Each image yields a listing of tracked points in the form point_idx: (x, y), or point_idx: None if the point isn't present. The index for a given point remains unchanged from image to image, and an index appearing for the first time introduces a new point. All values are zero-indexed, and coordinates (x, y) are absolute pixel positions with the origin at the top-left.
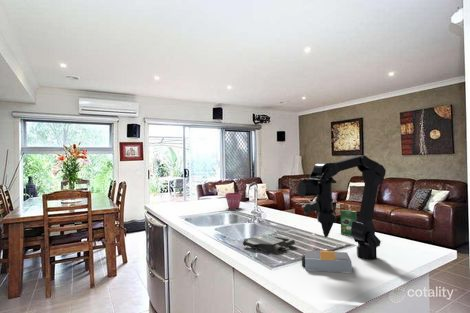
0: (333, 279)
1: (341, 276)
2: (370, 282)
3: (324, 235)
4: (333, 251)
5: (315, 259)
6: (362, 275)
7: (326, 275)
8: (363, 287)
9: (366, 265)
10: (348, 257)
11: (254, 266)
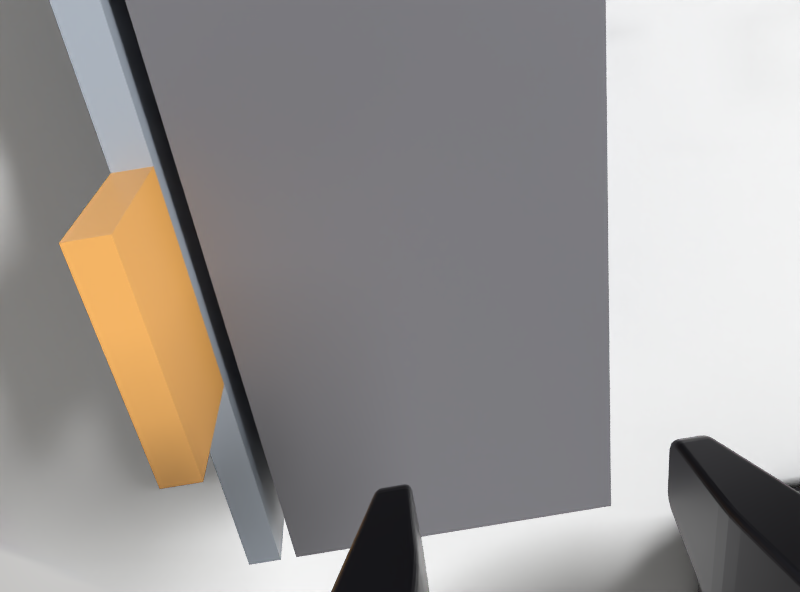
0: (48, 267)
1: None
2: (170, 567)
3: (366, 527)
4: (182, 468)
5: (80, 74)
6: None
7: None
8: (17, 524)
9: (602, 541)
10: None
11: None
